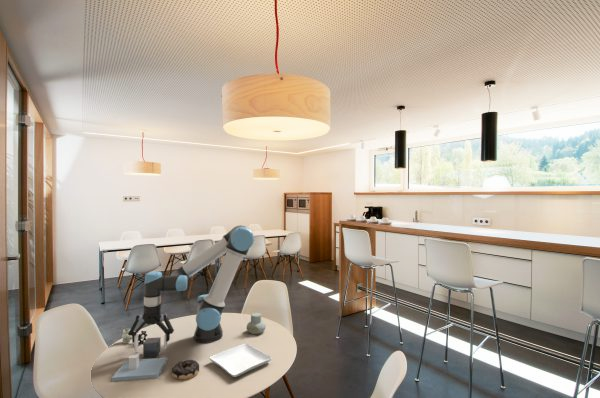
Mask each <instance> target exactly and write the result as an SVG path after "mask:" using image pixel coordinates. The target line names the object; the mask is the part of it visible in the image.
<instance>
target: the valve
mask: <svg viewBox="0 0 600 398" xmlns="http://www.w3.org/2000/svg"><path fill="white" fill-rule="evenodd" d="M130 329H131V328H124V329H123V330H122V335H121V339H122V344H130V342H131V340H132V335H128V333H129V331H130ZM146 337H148V333H147V330H141V331H140V333H138V345H143V343H144V342H145V341H146V340H147V338H146Z"/></svg>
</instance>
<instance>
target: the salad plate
mask: <svg viewBox="0 0 600 398" xmlns="http://www.w3.org/2000/svg"><path fill="white" fill-rule="evenodd" d="M208 359H210V362H212V363H213V364H215V365H217V366H218V367H219V368H221V369H222V370H224V371H225V372H226V373H227V374H229V376H230V377H232V378H237V377H240V376H242V375H244V374H245V373H248V372H250V371H253V370H254V369H256V368H258V367H261V366H263V365H266V364H267V363H268V362H270V361H271V360H272V356H271V355H268V353H265V352H263V351H262V350H260V349H258V348H256V347H254V346H253V345H251V344H249V343H243V344H240V345H237V346H234V347H231V348H228V349H226V350H223V351H221V352H218V353H216V354H214V355H211V356H209V357H208Z"/></svg>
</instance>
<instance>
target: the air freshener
mask: <svg viewBox="0 0 600 398" xmlns="http://www.w3.org/2000/svg"><path fill="white" fill-rule="evenodd" d="M266 328H267V327H266V323H265V322H264V321H262V313H260V312H253V313H252V314H250V321H249V322H248V323H247V324H246V328H245V329H246V331H247V332H248V333H250V334H252V335H259V334H261V333H263V332H264V331H265V330H266ZM258 333H259V334H258Z"/></svg>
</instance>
